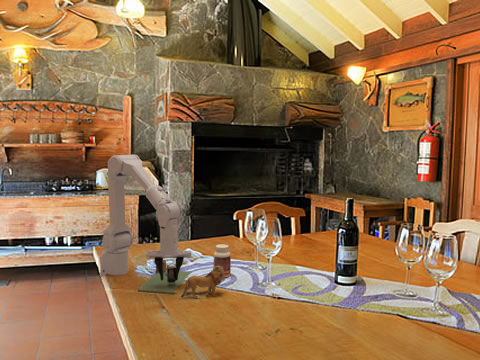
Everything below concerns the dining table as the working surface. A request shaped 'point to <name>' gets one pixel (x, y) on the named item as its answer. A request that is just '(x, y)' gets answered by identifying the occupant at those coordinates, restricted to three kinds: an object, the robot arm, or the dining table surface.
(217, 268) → the lion figurine
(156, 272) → the walnut block
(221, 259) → the pill bottle
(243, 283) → the dining table surface
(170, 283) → the lever
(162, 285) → the green flat rectangular slab
